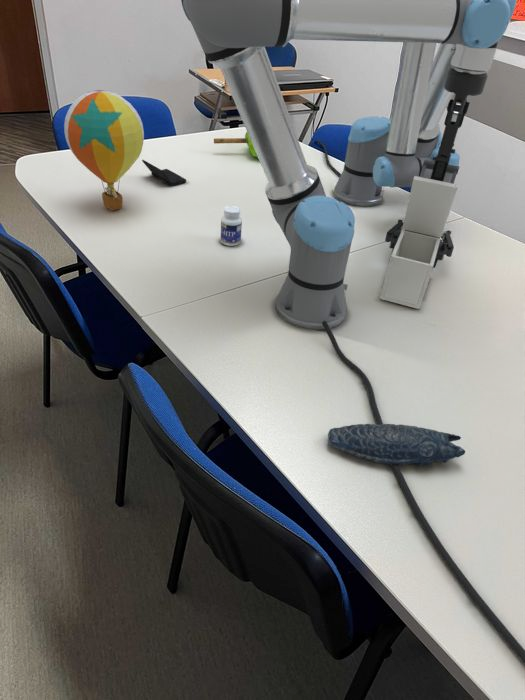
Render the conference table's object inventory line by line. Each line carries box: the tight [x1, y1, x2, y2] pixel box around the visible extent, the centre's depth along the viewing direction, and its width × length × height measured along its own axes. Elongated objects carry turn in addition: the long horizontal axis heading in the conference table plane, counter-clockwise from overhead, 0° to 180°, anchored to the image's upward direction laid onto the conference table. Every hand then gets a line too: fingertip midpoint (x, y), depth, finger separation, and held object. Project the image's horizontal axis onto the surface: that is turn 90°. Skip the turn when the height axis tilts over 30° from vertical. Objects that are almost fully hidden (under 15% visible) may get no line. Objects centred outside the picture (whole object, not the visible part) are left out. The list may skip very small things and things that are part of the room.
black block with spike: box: [141, 159, 187, 187], centre depth 162 cm, size 12×7×10 cm
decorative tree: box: [213, 131, 259, 159], centre depth 186 cm, size 18×10×30 cm
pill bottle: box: [220, 205, 243, 247], centre depth 132 cm, size 5×5×9 cm
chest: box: [379, 230, 441, 310], centre depth 119 cm, size 16×9×11 cm, turn 159°
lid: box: [402, 160, 460, 239], centre depth 116 cm, size 16×9×8 cm
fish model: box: [327, 423, 466, 466], centre depth 81 cm, size 7×21×5 cm, turn 84°
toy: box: [63, 89, 145, 212], centre depth 136 cm, size 20×20×30 cm
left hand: (435, 186), depth 115 cm, fingers open, 5 cm apart
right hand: (414, 257), depth 122 cm, fingers closed on chest, 9 cm apart
